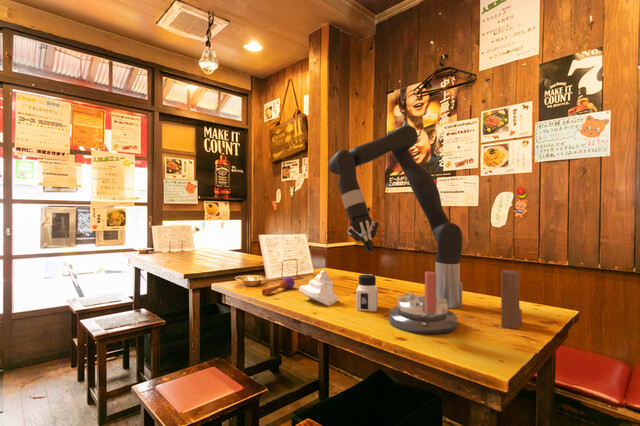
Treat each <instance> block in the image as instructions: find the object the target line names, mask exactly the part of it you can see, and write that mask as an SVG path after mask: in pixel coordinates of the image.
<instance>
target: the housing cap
mask: <svg viewBox="0 0 640 426" xmlns="http://www.w3.org/2000/svg"><path fill="white" fill-rule="evenodd" d="M388 323H389V324H390V325H391V326H392V327H393V328H395V329H398V330H400V331H403V332H406V333H411V334H416V335H425V336H437V335H438V336H439V335H447V334H452V333H454V332H455V331H456V330H457V329H458V317H457V314H455V313H454V312H452V311H450V310H448V309H447V317H446V318H445V319H442V320H437V321H421V320H414V319H409V318H406V317H403V316H401V315H400V314H399V313H398V305H397V306H393V307H392V308H390V309H389V310H388Z"/></svg>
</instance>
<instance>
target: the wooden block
mask: <svg viewBox="0 0 640 426" xmlns="http://www.w3.org/2000/svg"><path fill="white" fill-rule="evenodd" d="M500 273H501V274H500V275H501V276H500V277H501V278H500V280H501V281H500V282H501V285H500V288H501V290H500V292H501V293H500V294H501V295H500V298H501V299H500V300H501V301H500V302H501V303H500V307H501V308H500V314H501V316H500V318H501V319H500V323H501V327H502V328H507V329H514V330H517V329H518V328H519V327H520V325H521V324H522V319H523V318H522V316H523V314H522V313H523V311H522V309H521V307H520V272H519V271H518V270H509V269H504V270H502V271H501V272H500Z"/></svg>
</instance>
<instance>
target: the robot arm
mask: <svg viewBox="0 0 640 426" xmlns="http://www.w3.org/2000/svg"><path fill="white" fill-rule="evenodd" d="M418 141H419V135H418V132H417V130H416V129H415V128H414V127H413V126H410V125H403V126H400V127H398V128H397V129H396V130H395V131H393V132H391V133H390V134H387V135H385V136H382V137H381V138H377V139H374V140H371V141H368V142H365V143H363V144H359V145H358V146H355V147H353V148H351V149H350V150H347V149H340V150H338V151H337V152H336V153H335V154H334V155H333V157H331V158H330V160H329V162H328V169H329V171H330V172H331V173H332V174H334V175H339V179H338V182H337V183H338V188H339V192H340V194H341V199H342V203H343V206H344V210H345V212H346V215H347V219H348V221H349V226H350V227H349V228H348V229H347V230H346V234H347V235H348V236H349V237H351V238H352V239H353V240H355V241H356V242H360V243H362V244H363V247H364V250H365V251H366V252H367V253H372V252H373V251H374V249H375V247H374V243H373V239H374V238H375V237H376V235H377V232H378V228H379V222H378V221H374V220H372V218H371V216H370V212H369V209H368V205H367V204H366V201H365V198H364V195H363V193H362V190H361V188H360V185H359V182H358V179H357V169H356V168H357V167H358V166H362V165H365V164H368V163H370V162H372V161H374V160H377V159H379V158H380V157H382V156H384V155H385V154H388V153H390V152H391V153H392V155H393V157H394V158H395V160H396V162H398V165H399V166H400V169H401V170H402V172H403V174H404V176H405V178H406V180H407V182H408V184H409V186H410V189H411V191H412V192H413V194H414V197H415V198H416V200H417V202H418V204H419V206H420V208H421V209H422V211H423V213H424V215H425V216H426V218H427V221H428V225H429V227H430V229H431V233H432V234H433V235H432V236H433V238H434V239H435V241H436V242H437V253H436V255H435V260H434V261H435V262H434V263H435V265H434V266H435V272H434V273H436V298H446V302H447V309H458V308H460V307H461V308H462V307H463V282H461V257H462V253H463V233H462V229H461V227H460V226H459V225H457V224H456V223H453V222H450V220H449V218H448V216H447V214H446V213H445V211H444V209H443V205H442V200H441V195H440V191H439V188H438V186H437V184H436V182H435V179H434V177H433V176H432V174H431V173H430V172H429V171H428V170H427V169H426V168H424V167H423V166H421V165H420V164H419V163H417V162H416V160H415V159H414V158H413V156H412V154H411V152H410V149H411V148H413V147H414V146H415V145H416V144H417V143H418Z"/></svg>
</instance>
